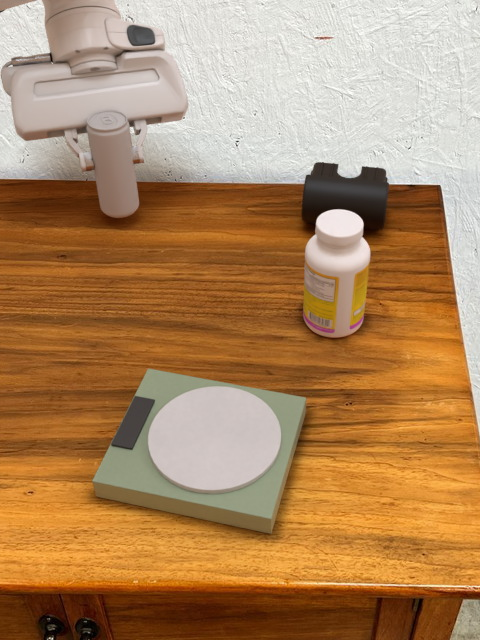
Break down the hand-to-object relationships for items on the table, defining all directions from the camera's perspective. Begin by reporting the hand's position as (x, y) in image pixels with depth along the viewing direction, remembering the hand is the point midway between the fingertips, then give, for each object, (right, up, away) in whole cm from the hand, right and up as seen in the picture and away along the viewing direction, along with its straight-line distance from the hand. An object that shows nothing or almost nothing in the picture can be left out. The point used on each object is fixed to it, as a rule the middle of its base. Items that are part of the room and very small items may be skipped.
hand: (113, 166), depth 91 cm
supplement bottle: (+25, -19, -6) cm, 32 cm away
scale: (+13, -32, -19) cm, 39 cm away
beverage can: (0, -4, +5) cm, 7 cm away
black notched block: (+28, -6, +6) cm, 29 cm away
